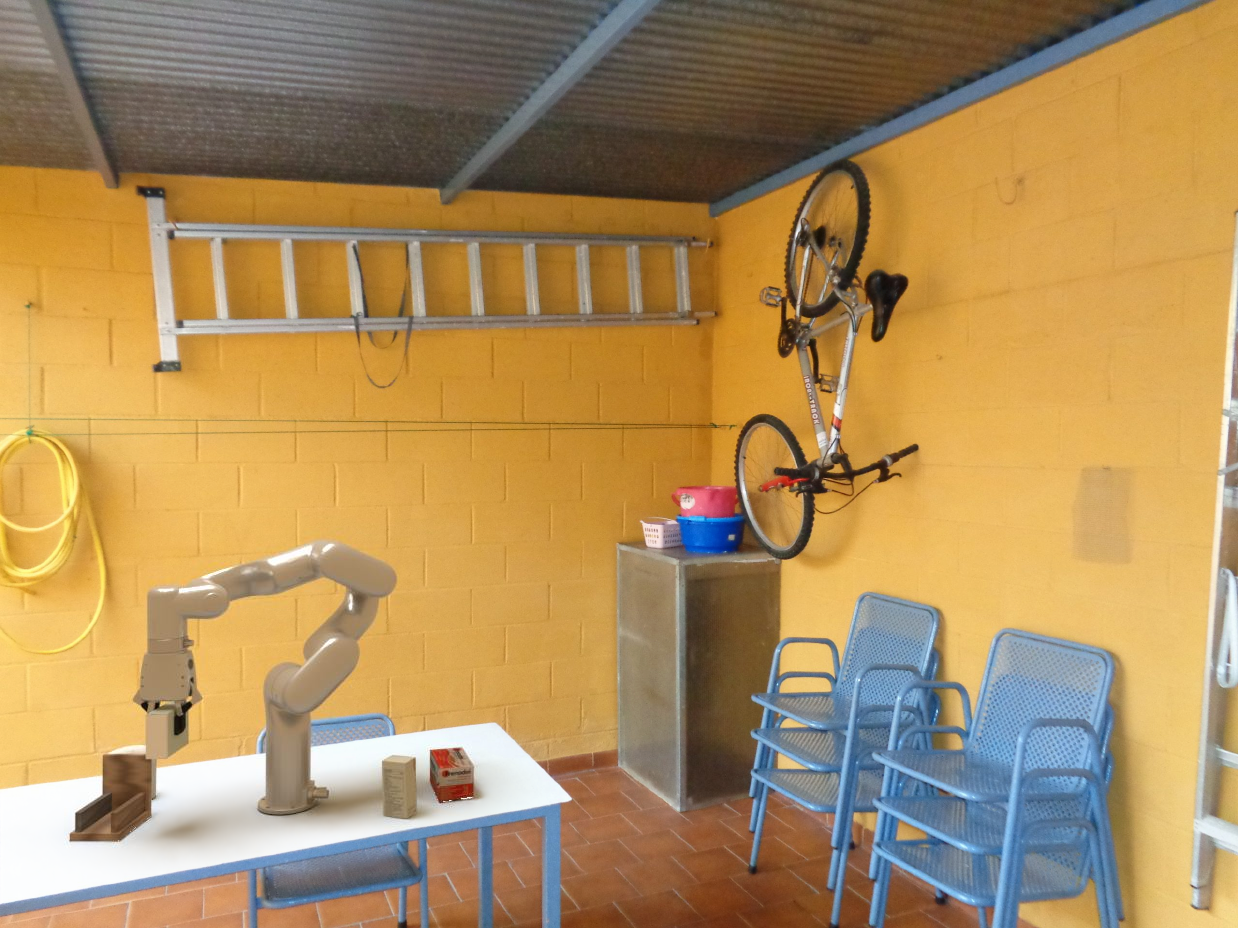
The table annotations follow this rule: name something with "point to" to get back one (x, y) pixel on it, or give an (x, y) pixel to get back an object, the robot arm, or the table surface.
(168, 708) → the beige rectangular block
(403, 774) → the skincare box
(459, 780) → the medicine box
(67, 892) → the table surface
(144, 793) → the shelf
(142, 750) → the photo printer
